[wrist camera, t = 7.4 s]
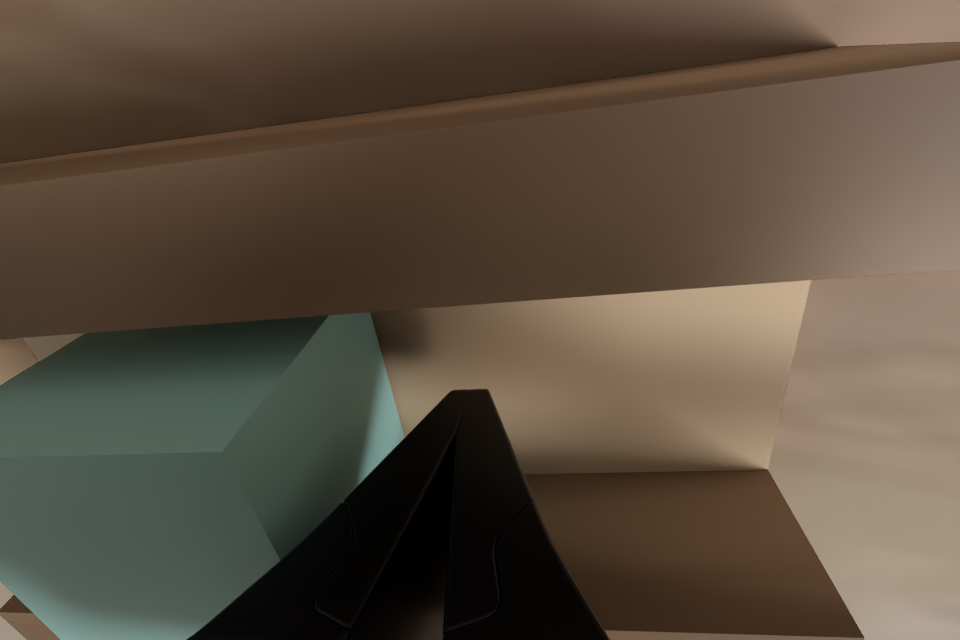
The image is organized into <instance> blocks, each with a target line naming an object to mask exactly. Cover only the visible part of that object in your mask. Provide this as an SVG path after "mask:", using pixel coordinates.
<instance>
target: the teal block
mask: <svg viewBox="0 0 960 640" xmlns="http://www.w3.org/2000/svg"><path fill="white" fill-rule="evenodd" d="M404 438H405V437H404V433H403V429H402V426H401V422H400V419H399V415H398V411H397V408H396V404H395V400H394V397H393V393H392V390H391V386H390V382H389V379H388V375H387V371H386V368H385V364H384V361H383V357H382V353H381V350H380V346H379V342H378V339H377V335H376V332H375V328H374V324H373V321H372V317H371V313H370V312H368V313H355V314H341V315H327V316H314V317H300V318H286V319H273V320H259V321H245V322H232V323H218V324H204V325H191V326H177V327H163V328H150V329H136V330H122V331H109V332H95V333H85V334H83V335H82V336H80V337H78V338H77V339H75V340H73V341H72V342H70V343H69V344H67V345H65V346H64V347H62V348H60V349H59V350H57V351H56V352H54V353H52V354H51V355H49V356H47V357H46V358H44V359H43V360H41V361H39V362H38V363H36V364H34V365H33V366H31V367H30V368H28V369H26V370H25V371H23V372H21V373H20V374H18V375H17V376H15V377H13V378H12V379H10V380H8V381H7V382H5V383H4V384H2V385H0V581H1V582H2V583H3V584H4V585H5V586H6V587H7V588H8V589H9V590H10V591H11V592H12V593H13V594H14V595H15V596H16V597H17V598H18V599H19V600H20V601H21V602H22V603H23V604H24V605H25V606H26V607H27V608H29V609H30V610H31V611H32V612H33V613H34V614H35V615H36V616H37V617H38V618H39V619H40V620H41V621H42V622H43V623H44V624H45V625H46V626H47V627H48V628H49V629H50V630H51V631H52V632H53V633H54V634H55V635H56V636H57V637H58V638H59V639H60V640H186V639H188V638H189V637H190V636H192V635H193V634H195V633H196V632H197V631H198V630H200V629H201V628H202V627H203V626H205V625H206V624H207V623H208V622H209V621H211V620H212V619H213V618H214V617H215V616H216V615H218V614H219V613H220V612H221V611H222V610H223V609H225V608H226V607H227V606H228V605H229V604H230V603H231V602H233V601H234V600H235V599H236V598H237V597H238V596H240V595H241V594H242V593H243V592H244V591H245V590H247V589H248V588H249V587H250V586H251V585H252V584H254V583H255V582H256V581H257V580H258V579H259V578H261V577H262V576H263V575H264V574H265V573H266V572H268V571H269V570H270V569H271V568H272V567H273V566H274V565H276V564H277V563H278V562H279V561H280V560H281V559H282V558H283V557H285V556H286V555H287V554H288V553H289V552H290V551H291V550H292V549H294V548H295V547H296V546H297V545H298V544H299V543H300V542H301V541H302V540H304V539H305V538H306V537H307V536H308V535H309V534H310V533H311V532H312V531H313V530H314V529H315V528H316V527H317V526H318V525H319V524H320V523H321V522H322V521H323V520H324V519H325V518H326V517H327V516H328V515H329V514H330V513H331V512H332V511H333V510H334V509H335V508H336V507H337V506H338V505H339V504H340V503H344V499H345V498H346V497H347V496H348V495H349V494H350V493H351V492H352V491H353V490H354V489H355V488H356V487H357V486H358V485H359V484H360V483H361V482H362V481H363V480H364V479H365V478H366V477H367V476H368V475H369V473H370V472H371V471H372V470H373V469H374V468H375V467H376V466H377V465H378V464H379V463H380V462H381V461H382V460H383V459H384V458H385V457H386V456H387V455H388V454H389V453H390V452H391V451H392V450H393V449H394V448H395V447H396V446H397V445H398V444H399V443H400V442H401V441H402V440H403V439H404Z"/></svg>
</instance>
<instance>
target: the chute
mask: <svg viewBox="0 0 960 640" xmlns="http://www.w3.org/2000/svg"><path fill="white" fill-rule="evenodd" d="M955 269H960V42H943V43H917V44H891V45H865V46H841V47H834V48H827V49H820V50H812V51H805V52H798V53H791V54H784V55H777V56H769V57H762V58H755V59H748V60H741V61H734V62H726V63H719V64H712V65H705V66H698V67H691V68H683V69H676V70H669V71H662V72H655V73H648V74H640V75H633V76H626V77H619V78H612V79H605V80H597V81H590V82H583V83H576V84H569V85H562V86H554V87H547V88H540V89H533V90H526V91H519V92H511V93H504V94H497V95H490V96H483V97H476V98H468V99H461V100H454V101H447V102H440V103H433V104H425V105H418V106H411V107H404V108H397V109H390V110H382V111H375V112H368V113H361V114H354V115H347V116H339V117H332V118H325V119H318V120H311V121H303V122H296V123H289V124H282V125H275V126H268V127H260V128H253V129H246V130H239V131H232V132H225V133H217V134H210V135H203V136H196V137H189V138H182V139H174V140H167V141H160V142H153V143H146V144H139V145H131V146H124V147H117V148H110V149H103V150H96V151H88V152H81V153H74V154H67V155H60V156H53V157H45V158H38V159H31V160H24V161H17V162H10V163H2V164H0V339H13V338H22V339H23V340H24V341H25V343H26V344H27V346H28V347H29V349H30V350H31V351H32V353H33V354H34V356H35V357H36V359H37V360H38V361H41V360H43V359H44V358H46V357H47V356H49V355H51V354H52V353H54V352H56V351H57V350H59V349H60V348H62V347H64V346H65V345H67V344H69V343H70V342H72V341H73V340H75V339H77V338H78V337H80V336H82V335H83V334H85V333H95V332H109V331H122V330H136V329H150V328H163V327H177V326H191V325H204V324H218V323H232V322H245V321H259V320H273V319H286V318H300V317H314V316H327V315H341V314H355V313H368V312H370V313H371V317H372V321H373V324H374V328H375V332H376V335H377V339H378V342H379V346H380V350H381V353H382V357H383V361H384V364H385V368H386V371H387V375H388V379H389V382H390V386H391V390H392V393H393V397H394V400H395V404H396V408H397V411H398V415H399V419H400V422H401V426H402V429H403V433H404V437H406V436H407V435H408V434H409V433H410V432H411V431H412V430H413V429H414V428H415V427H416V426H417V424H418V423H419V422H420V421H421V420H422V419H423V418H424V417H425V416H426V415H427V414H428V413H429V412H430V411H431V410H432V409H433V408H434V407H435V406H436V405H437V404H438V403H439V402H440V401H441V400H442V399H443V398H444V397H445V396H446V395H447V394H448V393H449V392H450V391H452V390H463V389H469V390H470V389H488V390H489V392H490V394H491V396H492V399H493V401H494V404H495V406H496V409H497V411H498V413H499V416H500V418H501V421H502V423H503V425H504V428H505V430H506V433H507V435H508V438H509V440H510V442H511V445H512V447H513V450H514V452H515V454H516V457H517V459H518V462H519V464H520V467H521V469H522V471H523V474H524V476H525V479H526V481H527V483H528V486H529V488H530V491H531V493H532V496H533V498H534V500H535V503H536V505H537V507H538V510H539V512H540V514H541V517H542V519H543V521H544V524H545V526H546V528H547V530H548V532H549V534H550V537H551V539H552V541H553V543H554V545H555V547H556V549H557V550H558V552H559V554H560V556H561V558H562V560H563V561H564V563H565V565H566V567H567V569H568V570H569V572H570V574H571V575H572V577H573V579H574V580H575V582H576V584H577V585H578V587H579V589H580V590H581V592H582V594H583V595H584V597H585V599H586V600H587V602H588V604H589V605H590V607H591V609H592V610H593V612H594V614H595V615H596V617H597V619H598V620H599V622H600V624H601V625H602V627H603V629H604V630H605V632H606V633H607V635H608V637H609V638H610V640H864V636H863V635H862V633H861V631H860V629H859V628H858V626H857V624H856V623H855V621H854V619H853V617H852V616H851V614H850V612H849V610H848V609H847V607H846V605H845V603H844V602H843V600H842V598H841V596H840V595H839V593H838V591H837V589H836V588H835V586H834V584H833V583H832V581H831V579H830V577H829V576H828V574H827V572H826V570H825V569H824V567H823V565H822V563H821V562H820V560H819V558H818V556H817V555H816V553H815V551H814V549H813V548H812V546H811V544H810V543H809V541H808V539H807V537H806V536H805V534H804V532H803V530H802V529H801V527H800V525H799V523H798V522H797V520H796V518H795V516H794V515H793V513H792V511H791V509H790V508H789V506H788V504H787V502H786V501H785V499H784V497H783V496H782V494H781V492H780V490H779V489H778V487H777V485H776V483H775V482H774V480H773V478H772V476H771V475H770V473H769V471H768V466H769V462H770V457H771V453H772V449H773V444H774V440H775V435H776V431H777V427H778V422H779V418H780V414H781V409H782V405H783V401H784V396H785V392H786V387H787V383H788V379H789V374H790V370H791V366H792V361H793V357H794V352H795V348H796V344H797V339H798V335H799V331H800V326H801V322H802V318H803V313H804V309H805V304H806V300H807V296H808V291H809V287H810V283H811V280H819V279H832V278H846V277H860V276H873V275H887V274H901V273H914V272H928V271H942V270H955ZM0 615H1V616H2V617H3V618H4V619H5V620H6V621H7V622H8V623H9V624H11V625H12V626H13V627H14V628H15V629H16V630H18V632H19V633H20V634H22V635H23V636H24V637H25V638H26V639H27V640H60V639H59V638H58V637H57V636H56V635H55V634H54V633H53V632H52V631H51V630H50V629H49V628H48V627H47V626H46V625H45V624H44V623H43V622H42V621H41V620H40V619H39V618H38V617H37V616H36V615H35V614H34V613H33V612H32V611H31V610H30V609H29V608H27V607H26V606H25V605H24V604H23V603H22V602H21V601H20V600H19V599H18V598H17V597H16V596H15V595H13V596H12V597H11V599H10V600H9V601H8V602H7V603H6V604H5V605H4V606H3V607H2V608H1V609H0Z"/></svg>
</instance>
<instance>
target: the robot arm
mask: <svg viewBox="0 0 960 640" xmlns="http://www.w3.org/2000/svg"><path fill="white" fill-rule="evenodd" d="M186 640H610V638H609V637H608V635H607V633H606V632H605V630H604V629H603V627H602V625H601V624H600V622H599V620H598V619H597V617H596V615H595V614H594V612H593V610H592V609H591V607H590V605H589V604H588V602H587V600H586V599H585V597H584V595H583V594H582V592H581V590H580V589H579V587H578V585H577V584H576V582H575V580H574V579H573V577H572V575H571V574H570V572H569V570H568V569H567V567H566V565H565V563H564V561H563V560H562V558H561V556H560V554H559V552H558V550H557V549H556V547H555V545H554V543H553V541H552V539H551V537H550V534H549V532H548V530H547V528H546V526H545V524H544V521H543V519H542V517H541V514H540V512H539V510H538V507H537V505H536V503H535V500H534V498H533V496H532V493H531V491H530V488H529V486H528V483H527V481H526V479H525V476H524V474H523V471H522V469H521V467H520V464H519V462H518V459H517V457H516V454H515V452H514V450H513V447H512V445H511V442H510V440H509V438H508V435H507V433H506V430H505V428H504V425H503V423H502V421H501V418H500V416H499V413H498V411H497V409H496V406H495V404H494V401H493V399H492V396H491V394H490V392H489V390H488V389H470V390H469V389H463V390H452V391H450V392H449V393H448V394H447V395H446V396H445V397H444V398H443V399H442V400H441V401H440V402H439V403H438V404H437V405H436V406H435V407H434V408H433V409H432V410H431V411H430V412H429V413H428V414H427V415H426V416H425V417H424V418H423V419H422V420H421V421H420V422H419V423H418V424H417V426H416V427H415V428H414V429H413V430H412V431H411V432H410V433H409V434H408V435H407V436H406V437H405V438H404V439H403V440H402V441H401V442H400V443H399V444H398V445H397V446H396V447H395V448H394V449H393V450H392V451H391V452H390V453H389V454H388V455H387V456H386V457H385V458H384V459H383V460H382V461H381V462H380V463H379V464H378V465H377V466H376V467H375V468H374V469H373V470H372V471H371V472H370V473H369V475H368V476H367V477H366V478H365V479H364V480H363V481H362V482H361V483H360V484H359V485H358V486H357V487H356V488H355V489H354V490H353V491H352V492H351V493H350V494H349V495H348V496H347V497H346V498H345V499H344V503H340V504H339V505H338V506H337V507H336V508H335V509H334V510H333V511H332V512H331V513H330V514H329V515H328V516H327V517H326V518H325V519H324V520H323V521H322V522H321V523H320V524H319V525H318V526H317V527H316V528H315V529H314V530H313V531H312V532H311V533H310V534H309V535H308V536H307V537H306V538H305V539H304V540H302V541H301V542H300V543H299V544H298V545H297V546H296V547H295V548H294V549H292V550H291V551H290V552H289V553H288V554H287V555H286V556H285V557H283V558H282V559H281V560H280V561H279V562H278V563H277V564H276V565H274V566H273V567H272V568H271V569H270V570H269V571H268V572H266V573H265V574H264V575H263V576H262V577H261V578H259V579H258V580H257V581H256V582H255V583H254V584H252V585H251V586H250V587H249V588H248V589H247V590H245V591H244V592H243V593H242V594H241V595H240V596H238V597H237V598H236V599H235V600H234V601H233V602H231V603H230V604H229V605H228V606H227V607H226V608H225V609H223V610H222V611H221V612H220V613H219V614H218V615H216V616H215V617H214V618H213V619H212V620H211V621H209V622H208V623H207V624H206V625H205V626H203V627H202V628H201V629H200V630H198V631H197V632H196V633H195V634H193V635H192V636H190V637H189V638H188V639H186Z"/></svg>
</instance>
